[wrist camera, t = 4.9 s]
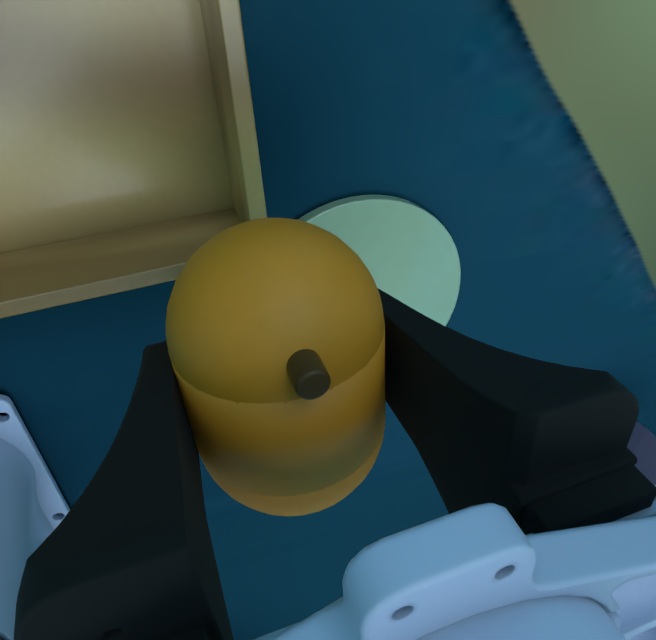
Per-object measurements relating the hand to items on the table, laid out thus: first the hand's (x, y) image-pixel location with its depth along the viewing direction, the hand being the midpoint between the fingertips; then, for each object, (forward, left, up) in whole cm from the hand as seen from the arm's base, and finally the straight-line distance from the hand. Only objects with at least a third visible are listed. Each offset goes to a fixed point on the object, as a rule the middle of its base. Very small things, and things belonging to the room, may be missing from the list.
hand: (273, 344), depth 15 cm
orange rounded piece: (0, 0, -1) cm, 1 cm away
